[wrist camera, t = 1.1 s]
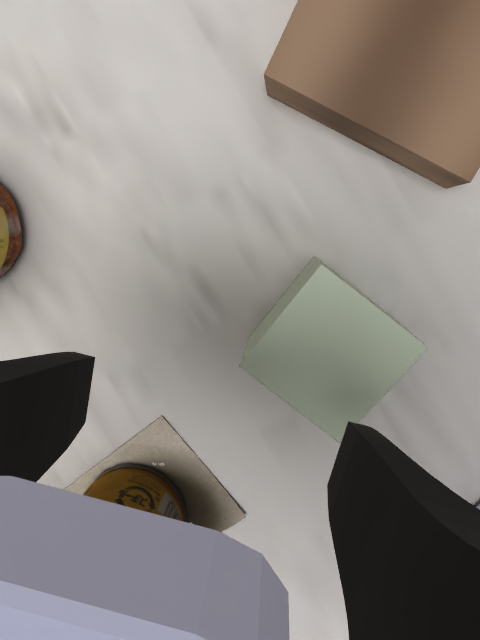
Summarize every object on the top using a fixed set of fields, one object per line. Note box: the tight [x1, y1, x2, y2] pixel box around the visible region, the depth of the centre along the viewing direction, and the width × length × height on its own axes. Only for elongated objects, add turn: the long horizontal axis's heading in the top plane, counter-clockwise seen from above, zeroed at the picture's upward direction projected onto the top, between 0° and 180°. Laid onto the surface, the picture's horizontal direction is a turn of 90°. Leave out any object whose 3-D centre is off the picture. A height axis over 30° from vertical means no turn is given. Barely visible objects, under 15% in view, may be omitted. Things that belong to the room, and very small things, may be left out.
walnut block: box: [264, 0, 480, 188], centre depth 16 cm, size 9×9×3 cm
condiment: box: [64, 416, 246, 532], centre depth 18 cm, size 7×8×12 cm
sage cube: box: [239, 257, 428, 442], centre depth 18 cm, size 5×5×5 cm
